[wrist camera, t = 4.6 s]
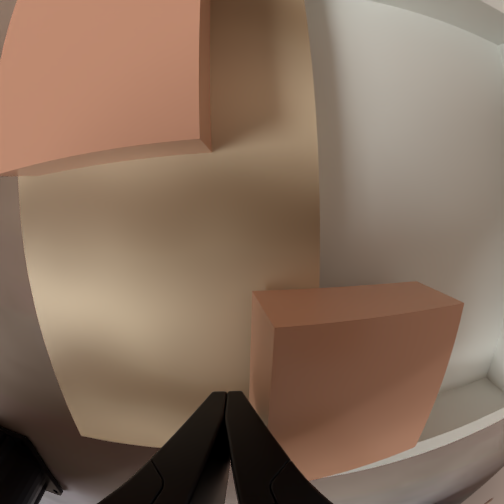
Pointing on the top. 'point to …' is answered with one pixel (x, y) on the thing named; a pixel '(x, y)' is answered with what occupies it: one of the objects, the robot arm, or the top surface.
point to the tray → (418, 175)
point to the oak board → (181, 239)
